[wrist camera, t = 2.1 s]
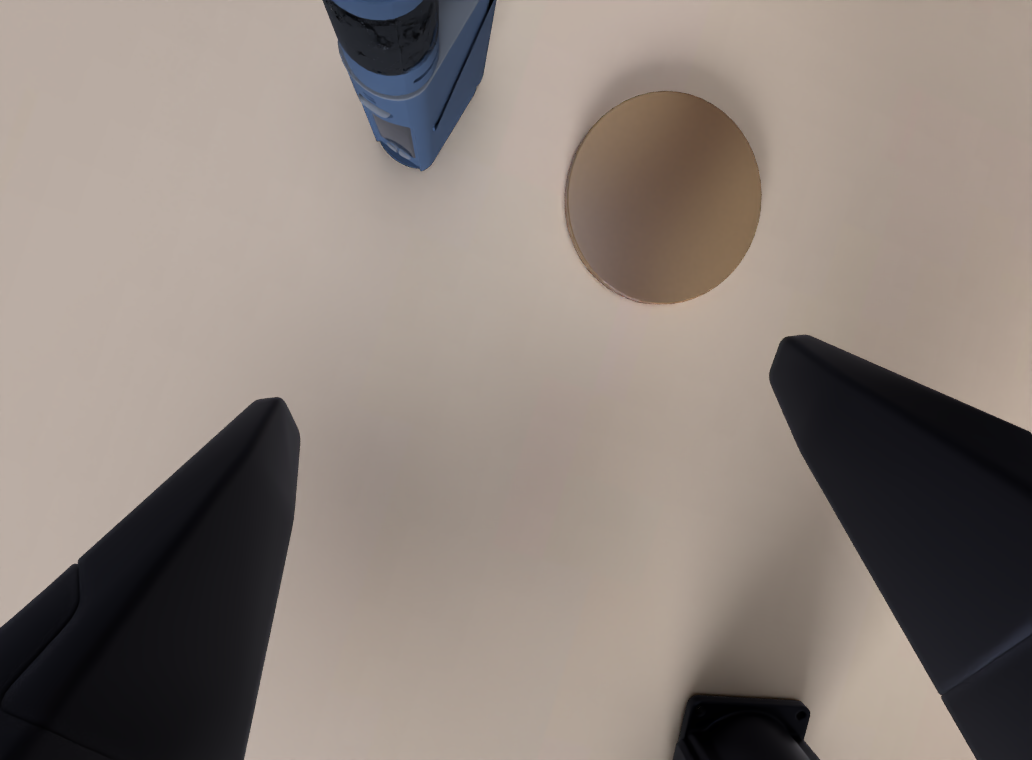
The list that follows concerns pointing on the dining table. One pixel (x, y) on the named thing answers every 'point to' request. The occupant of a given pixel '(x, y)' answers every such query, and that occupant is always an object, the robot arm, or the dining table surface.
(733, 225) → the round bronze-colored metal disc
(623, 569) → the dining table surface
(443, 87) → the vaping device
